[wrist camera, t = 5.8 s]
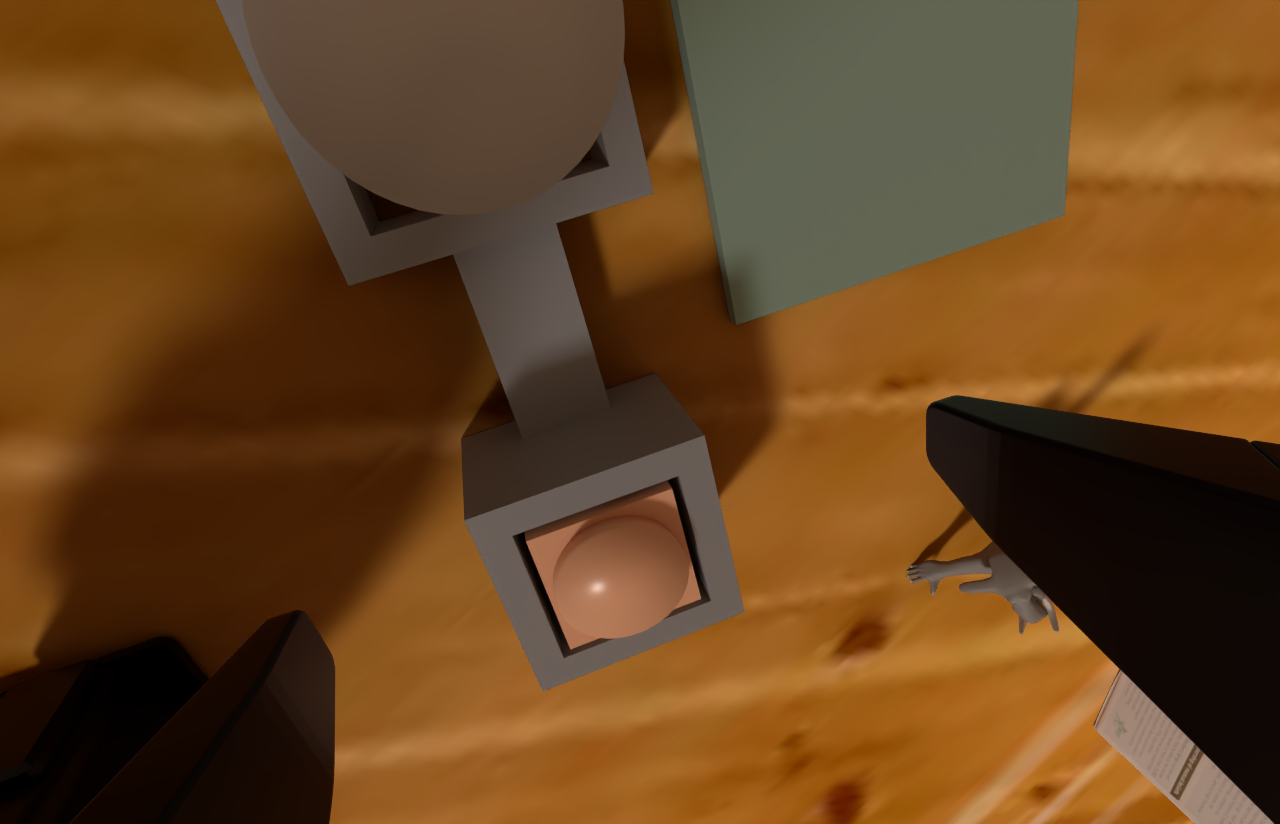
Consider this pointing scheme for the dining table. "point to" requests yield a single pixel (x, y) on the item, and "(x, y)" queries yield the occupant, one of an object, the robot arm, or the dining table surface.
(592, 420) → the grey long framed piece
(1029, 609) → the grey limbed figure piece
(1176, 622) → the robot arm
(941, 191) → the green mat
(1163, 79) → the dining table surface
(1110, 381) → the dining table surface
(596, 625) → the plunger
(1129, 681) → the syrup box
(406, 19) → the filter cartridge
